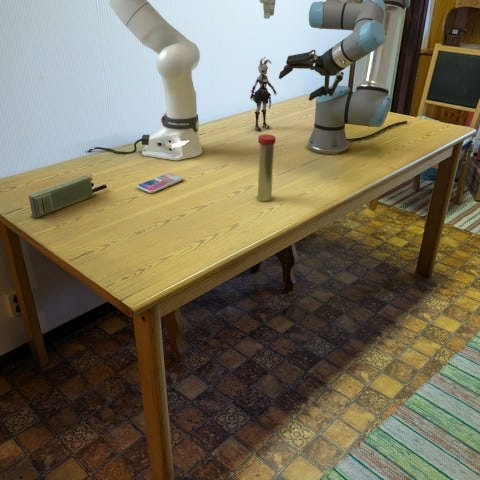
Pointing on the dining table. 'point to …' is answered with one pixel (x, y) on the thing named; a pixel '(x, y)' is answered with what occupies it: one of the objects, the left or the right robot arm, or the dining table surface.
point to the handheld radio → (62, 195)
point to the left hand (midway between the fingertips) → (268, 16)
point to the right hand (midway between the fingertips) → (295, 86)
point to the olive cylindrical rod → (265, 172)
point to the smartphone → (159, 182)
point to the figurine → (262, 93)
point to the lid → (266, 139)
